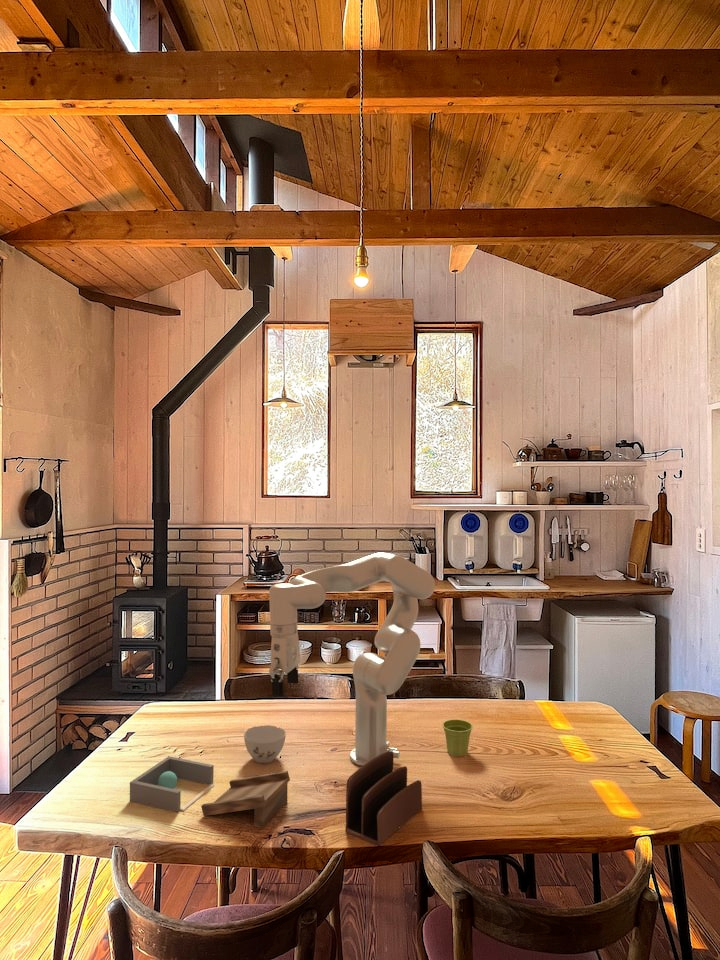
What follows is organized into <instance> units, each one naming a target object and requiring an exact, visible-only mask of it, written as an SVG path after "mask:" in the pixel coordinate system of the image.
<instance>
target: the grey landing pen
mask: <svg viewBox="0 0 720 960" xmlns="http://www.w3.org/2000/svg"><path fill="white" fill-rule="evenodd" d="M167 771H171V772H173V773H175V775H176V776H177V779H181V780H185V781H191V782H195V783H199V784H205V785H208V786H206V787H205V788H204V789H203V790H202V791H201V792H199V793H198V794H197V795H195V797H193V798H192V799H190V801H188V802H186V803H185V805H183V807H181V805H182V804H181V798H182V797H181V792H182V791H181V790H180V789H175V788H174V789H171V788H166V787H162V786H158V779H159V777H160V776H161V774H163V773H164V772H167ZM213 787H215V784H214V764H209V763H205V762H201V761H194V760H191V759H186V758H185V759H184V758H179V757H174V756H167V757H166V758H164V759H162V760H161V761H160V762H157V763H156V764H155V765H154V766H152V767H151V768H150V767H149V769H147V770H146V771H145V772H143V773H141V774H140V775H139V776H137V777H135V778H134V779H133V780H131V781H130V782H129V802H131V803H135V804H139V805H143V806H147V807H148V806H149V807H152V808H156V809H157V808H158V809H160V810H166V811H170V812H174V813H179V812H180V811H183V812H184V811H185V810H187V809H188V808H189V807H190V806H191V805H193V804H194V803H195V802H196V801H198V800H199V799H200V798H201V797H202V796H203V795H205V794H206V793H207V792H208V791H209V790H211V789H212V788H213Z"/></svg>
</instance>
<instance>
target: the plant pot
mask: <svg viewBox="0 0 720 960" xmlns="http://www.w3.org/2000/svg"><path fill="white" fill-rule="evenodd" d="M442 728H443V731H444V734H445V742H446V743H445V744H446V748H447V750H446V751H447V753H448V754H449V755H450V756H452V757H456V758H457V757H458V758H459V757H465V756H467V755H468V751H469V744H470V743H469V742H470V736H471V733H472V730H473V729H474V727H473V724H472V723H471V722H470V721H467V720H464V719H457V718H456V719H455V718H454V719H448V720H445V721H443V722H442Z"/></svg>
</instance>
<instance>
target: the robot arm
mask: <svg viewBox="0 0 720 960" xmlns="http://www.w3.org/2000/svg"><path fill="white" fill-rule="evenodd" d="M435 581H436V580H435V578H434V577H433V575H432V574H431V573H430V572H428V571H426V570H425V569H424V568H421V567H420V566H418V565H417V564H415V563H413V562H411V561H410V560H408V559H407V558H405V557H404V556H401V555H398V554H395V553H389V552H380V551H379V552H375V553H373V554H371V555H370V554H369V555H367V556H364V557H361V558H359V559H356V560H353V561H351V562H347V563H343V564H339V565H334V566H329V567H323V568H319V569H316V570H311V571H309V572H306V573H302V574H300V575H297V576H295V577H293V578H292V579H291V580H290V581H289V582H287V583H285V582H282V583H281V582H280V583H275V584H273V585H271V586H270V588H269V590H268V591H269V592H268V594H269V595H268V597H269V624H270V626H269V627H270V629H269V630H270V631H269V632H270V636H271V645H270V667H269V669H268V670H269V671H268V673H269V676H270V677H269V678H270V681H271V688H272V689H271V691H272V694H271V695H272V696H274V697H283V696H284V695H285V690H284V689H285V688H284V686H285V685H284V684H285V683H284V681H283V678H284V674H286V678H287V681H286V682H287V683H288V684H295V685H297V684H298V683H299V665H300V664H301V653H300V652H301V650H300V649H301V648H300V640H299V634H298V610H300V609H301V610H302V609H303V610H304V609H305V610H307V609H308V610H312V609H316V608H320V606H322V605H323V604H324V602H325V601H326V598H327V597H326V596H327V593H350V592H351V593H352V592H356V591H359V590H361V589H364V588H367V587H369V586H371V585H374V584H377V583H380V582H387V583H390V584H391V588H392V593H393V603H392V606H391V609H390V610H389V613H388V614H387V615H386V617H385V619H384V621H383V622H382V623H381V625H380V627H379V629H378V630H377V632H376V634H375V636H374V645H375V648H377V650H378V651H380V652H381V653H383V654H385V655H386V657H383V656H382V655H379V654H377V653H375V652H363V653H361V654H359V655H358V656H357V658H356V659H355V660H354V663H353V666H352V677H353V682H354V684H353V685H354V688H355V689H354V691H355V725H354V726H355V730H354V732H355V735H354V736H355V738H354V740H355V742H354V743H355V746H354V747H355V748H353V749H352V750H351V751H350V753H349V758H350V761H351V762H353V763H354V764H356V765H358V766H361V767H362V766H363V765H365V764H366V763H368V762H369V761H371V760H372V759H374V758H375V757H377V756H379V755H381V754H383V753H385V752H388V751H393V754H394V758H393V759H400V756H401V755H400V751H399V748H396V747H391V746H390V741H388V740H387V731H388V729H387V726H388V725H387V724H388V721H387V720H388V719H387V717H388V716H387V715H388V714H387V711H388V710H387V707H388V701H387V697H388V696H390V695H391V696H392V695H393V694H395V693H397V692H398V690H399V689H400V688H401V687H402V685H403V683H404V682H405V680H406V679H407V677H408V675H409V674H410V671H411V670H412V668H413V666H414V665H415V663H416V661H417V659H418V657H419V655H420V651H421V639H420V637H419V635H418V633H416V632H415V631H414V630H412V628H413V626H414V625H415V623H416V621H417V617H418V615H419V601H418V600H426V599H428V598H430V597H431V596H432V595H433V594H434V592H435V589H436V582H435Z"/></svg>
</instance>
